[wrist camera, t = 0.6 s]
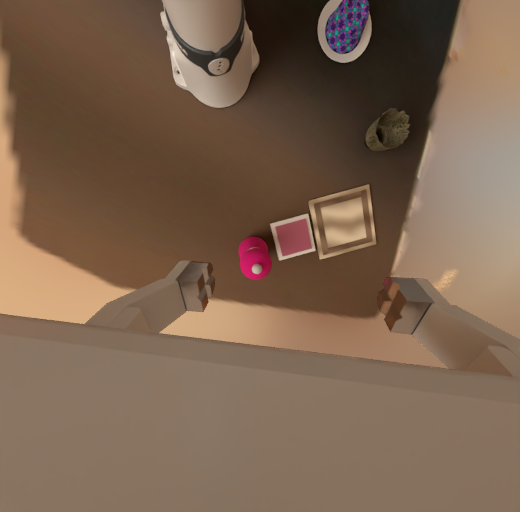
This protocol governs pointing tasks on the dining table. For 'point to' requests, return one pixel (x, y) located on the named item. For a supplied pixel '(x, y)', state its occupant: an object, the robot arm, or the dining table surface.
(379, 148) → the cup
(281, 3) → the dining table surface
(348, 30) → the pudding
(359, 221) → the board
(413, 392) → the robot arm
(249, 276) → the pepper mill
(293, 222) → the ink pad
